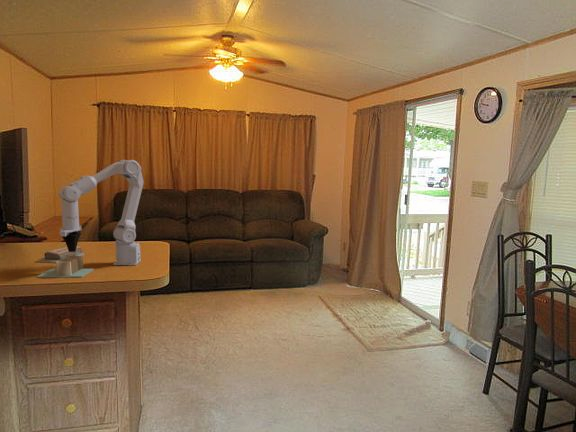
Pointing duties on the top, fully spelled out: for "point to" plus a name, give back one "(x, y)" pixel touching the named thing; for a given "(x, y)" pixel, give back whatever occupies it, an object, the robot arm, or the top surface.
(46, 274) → the mat
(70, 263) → the walnut block
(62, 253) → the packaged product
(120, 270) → the top surface
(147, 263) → the top surface
